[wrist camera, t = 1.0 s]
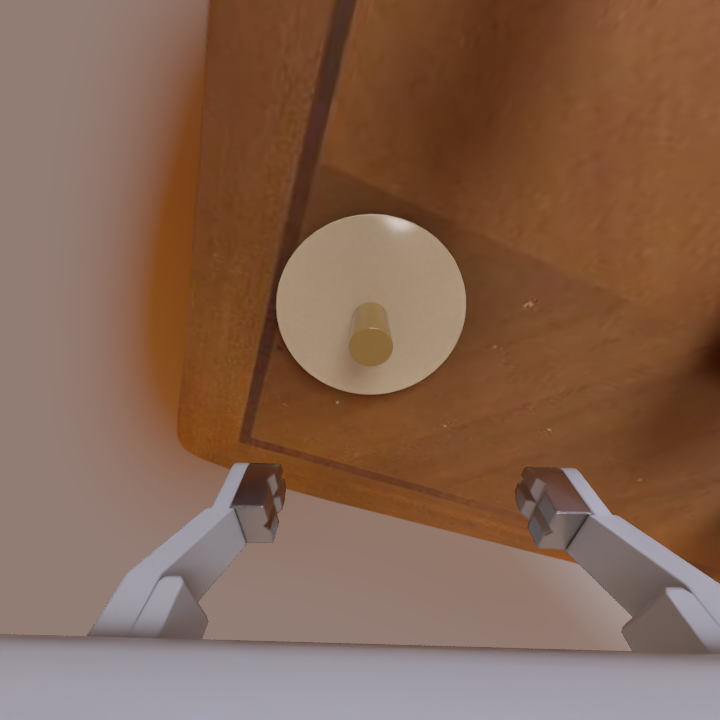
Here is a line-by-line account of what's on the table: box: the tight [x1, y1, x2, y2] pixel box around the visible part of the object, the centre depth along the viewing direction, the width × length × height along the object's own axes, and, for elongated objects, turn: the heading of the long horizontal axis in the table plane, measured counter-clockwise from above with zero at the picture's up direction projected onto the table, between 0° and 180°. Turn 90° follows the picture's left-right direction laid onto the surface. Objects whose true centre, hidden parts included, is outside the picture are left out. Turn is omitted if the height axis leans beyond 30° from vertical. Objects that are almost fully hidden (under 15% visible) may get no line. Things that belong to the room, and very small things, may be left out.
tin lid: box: [276, 213, 466, 395], centre depth 20 cm, size 14×14×6 cm
